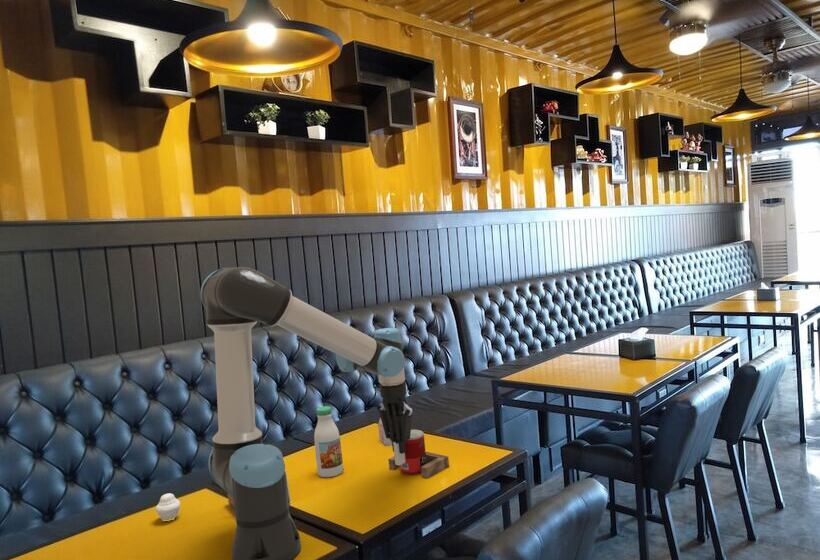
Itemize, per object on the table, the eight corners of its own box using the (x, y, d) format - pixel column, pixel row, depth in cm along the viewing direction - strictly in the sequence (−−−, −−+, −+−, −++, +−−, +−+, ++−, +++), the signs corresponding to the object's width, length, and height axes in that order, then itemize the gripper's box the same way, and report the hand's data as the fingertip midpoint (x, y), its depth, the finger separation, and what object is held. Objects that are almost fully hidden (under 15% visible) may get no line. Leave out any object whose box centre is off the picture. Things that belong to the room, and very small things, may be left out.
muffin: (177, 511, 160) (173, 486, 160) (185, 518, 156) (182, 492, 155) (153, 520, 156) (150, 494, 156) (161, 527, 152) (158, 500, 151)
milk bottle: (313, 477, 175) (306, 411, 174) (325, 467, 182) (318, 404, 181) (336, 478, 173) (329, 411, 171) (347, 468, 180) (341, 404, 179)
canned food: (427, 473, 169) (424, 436, 169) (400, 476, 169) (396, 439, 169) (426, 464, 177) (423, 428, 176) (400, 466, 177) (396, 430, 176)
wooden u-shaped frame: (427, 478, 166) (426, 468, 166) (389, 468, 176) (388, 459, 176) (449, 466, 173) (448, 456, 173) (411, 457, 184) (410, 448, 183)
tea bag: (389, 438, 204) (386, 410, 203) (396, 444, 198) (393, 415, 197) (379, 441, 203) (376, 412, 202) (386, 446, 196) (383, 417, 196)
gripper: (418, 381, 166) (426, 463, 167) (385, 377, 175) (393, 455, 176) (400, 387, 161) (408, 472, 162) (367, 383, 169) (375, 463, 171)
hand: (400, 463), depth 169 cm, fingers closed
